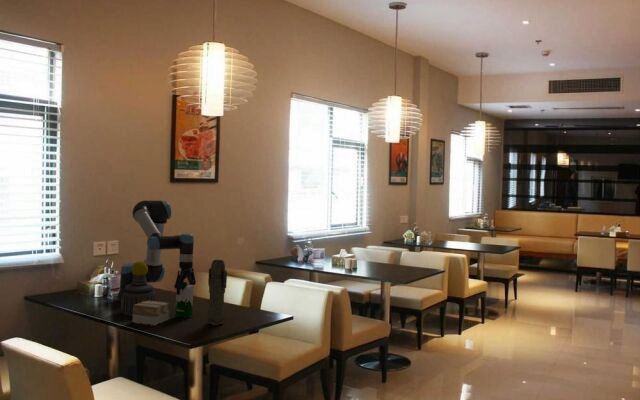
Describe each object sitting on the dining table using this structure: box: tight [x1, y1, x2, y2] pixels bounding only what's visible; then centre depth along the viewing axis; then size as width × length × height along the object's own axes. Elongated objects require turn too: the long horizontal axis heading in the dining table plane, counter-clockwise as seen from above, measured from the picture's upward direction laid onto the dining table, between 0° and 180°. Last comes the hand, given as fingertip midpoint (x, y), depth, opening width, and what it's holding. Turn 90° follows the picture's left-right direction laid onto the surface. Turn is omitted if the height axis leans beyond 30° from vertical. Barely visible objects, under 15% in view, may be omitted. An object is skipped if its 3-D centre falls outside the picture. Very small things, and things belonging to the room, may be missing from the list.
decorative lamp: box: [120, 260, 157, 317], centre depth 336 cm, size 19×19×30 cm
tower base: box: [131, 312, 170, 326], centre depth 319 cm, size 14×14×5 cm
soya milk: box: [174, 281, 195, 319], centre depth 331 cm, size 9×9×20 cm
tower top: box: [133, 300, 171, 317], centre depth 319 cm, size 14×14×5 cm
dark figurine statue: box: [207, 259, 228, 324], centre depth 319 cm, size 9×12×35 cm
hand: (184, 298), depth 331 cm, fingers open, 13 cm apart
